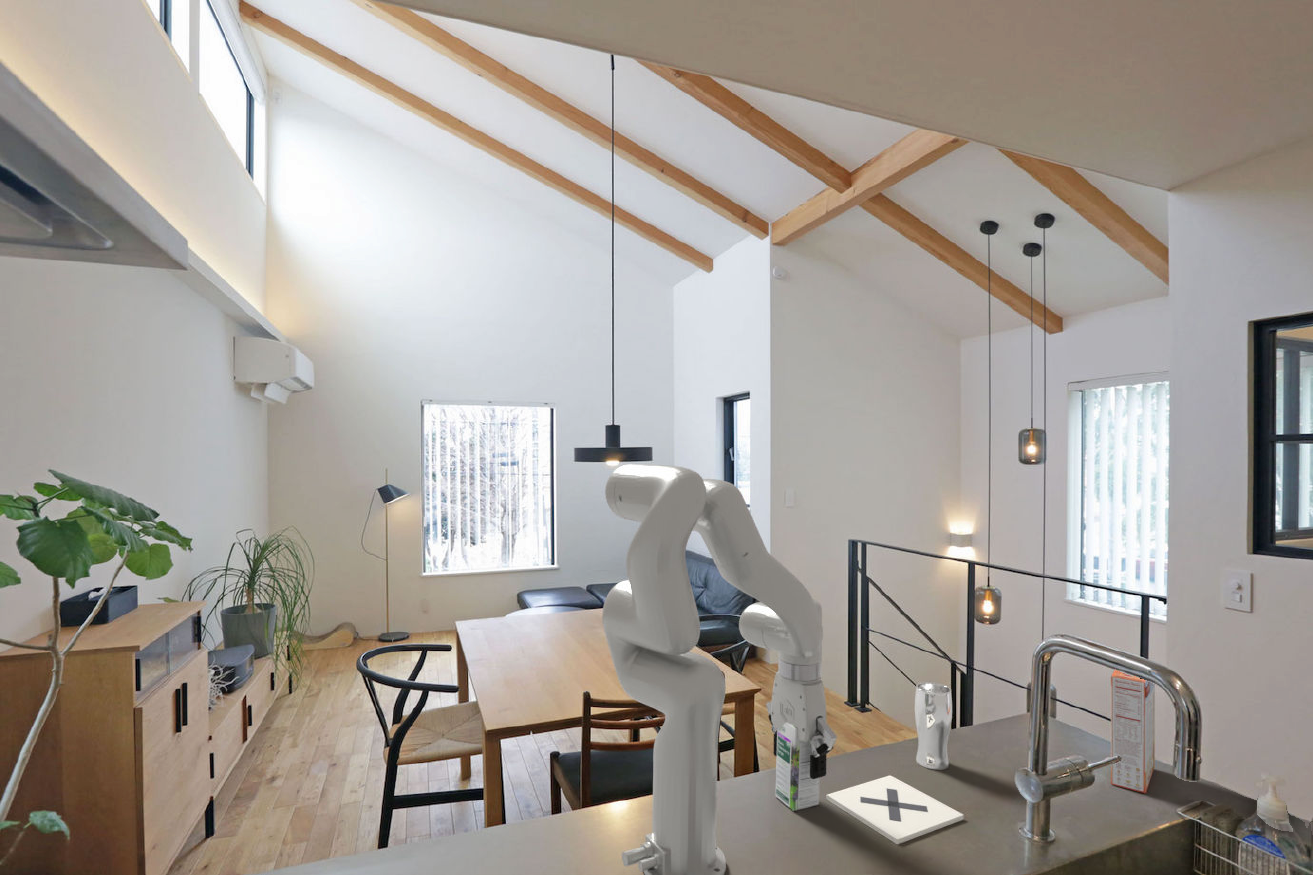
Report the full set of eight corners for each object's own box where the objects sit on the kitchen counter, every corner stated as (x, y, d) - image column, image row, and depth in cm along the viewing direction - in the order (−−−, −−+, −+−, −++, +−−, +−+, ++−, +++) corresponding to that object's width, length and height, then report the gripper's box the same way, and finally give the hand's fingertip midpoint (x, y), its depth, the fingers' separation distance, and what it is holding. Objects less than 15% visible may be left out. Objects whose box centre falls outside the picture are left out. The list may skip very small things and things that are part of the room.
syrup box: (774, 796, 127) (775, 715, 127) (801, 790, 130) (802, 710, 130) (793, 812, 122) (794, 727, 122) (820, 805, 125) (822, 722, 125)
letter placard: (897, 844, 113) (897, 838, 113) (826, 799, 127) (826, 794, 127) (963, 819, 121) (963, 814, 121) (890, 779, 135) (890, 774, 135)
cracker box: (1119, 759, 145) (1121, 657, 145) (1155, 769, 141) (1157, 663, 141) (1107, 784, 134) (1109, 673, 134) (1146, 795, 130) (1148, 680, 130)
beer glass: (954, 772, 138) (955, 695, 138) (916, 768, 139) (917, 692, 139) (947, 757, 145) (948, 683, 145) (911, 753, 146) (912, 680, 146)
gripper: (753, 658, 132) (752, 750, 132) (817, 688, 117) (816, 792, 117) (784, 652, 136) (783, 742, 136) (851, 680, 121) (850, 781, 121)
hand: (799, 765), depth 126 cm, fingers open, 9 cm apart
